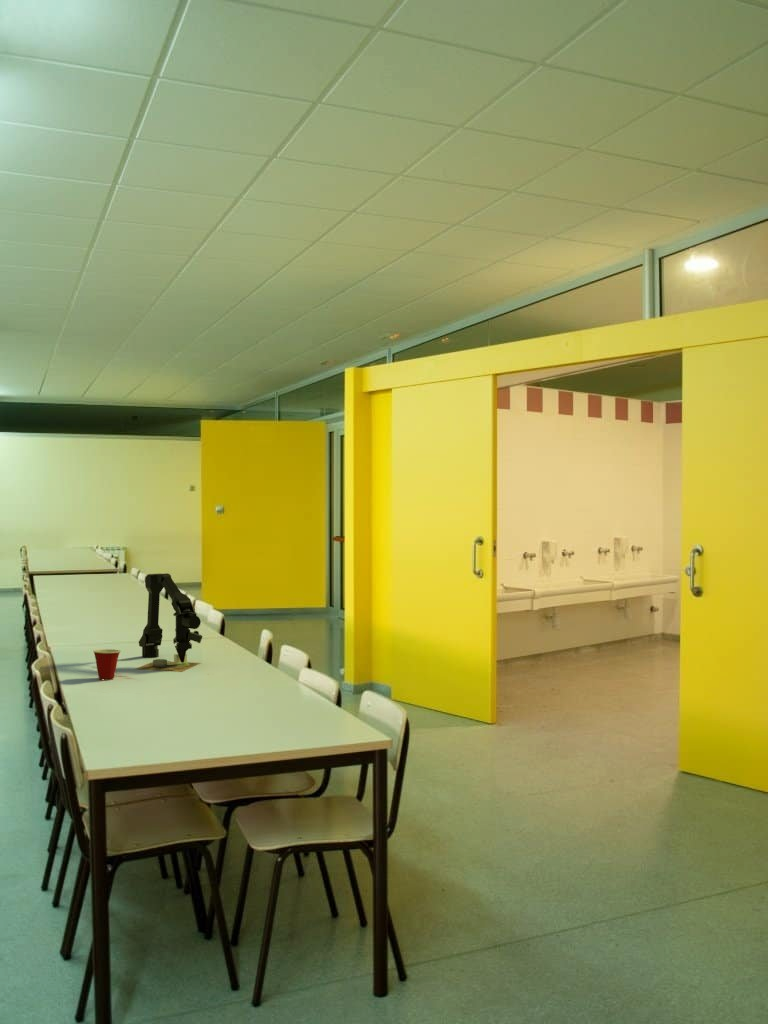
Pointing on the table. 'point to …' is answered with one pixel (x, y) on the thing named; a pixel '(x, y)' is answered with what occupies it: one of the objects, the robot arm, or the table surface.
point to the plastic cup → (106, 662)
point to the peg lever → (164, 662)
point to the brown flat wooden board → (169, 667)
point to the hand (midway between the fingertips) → (182, 662)
